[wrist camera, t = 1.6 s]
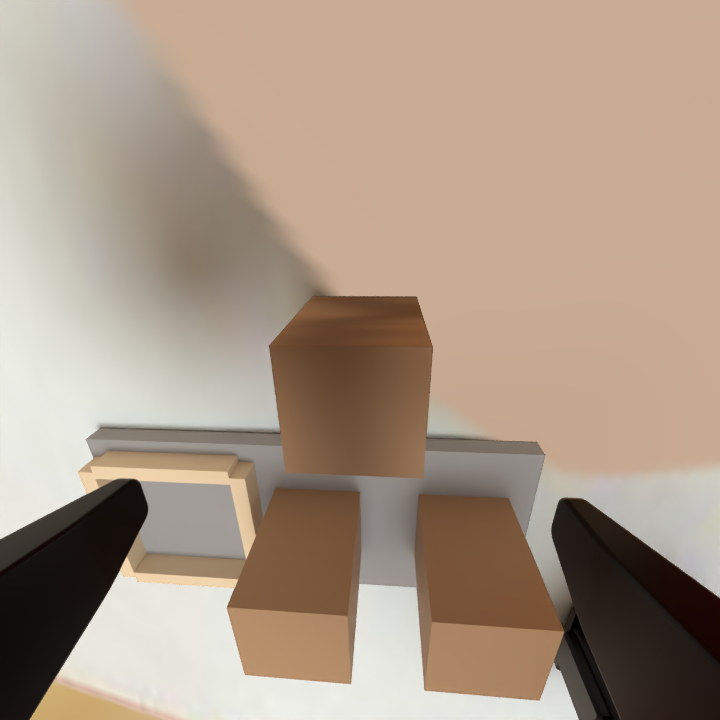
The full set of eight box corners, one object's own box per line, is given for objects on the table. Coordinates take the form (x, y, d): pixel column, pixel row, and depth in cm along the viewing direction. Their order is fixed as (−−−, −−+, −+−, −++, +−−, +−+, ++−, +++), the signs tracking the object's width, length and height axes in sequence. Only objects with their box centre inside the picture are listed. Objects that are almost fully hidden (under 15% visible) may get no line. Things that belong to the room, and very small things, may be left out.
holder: (536, 441, 17) (626, 580, 11) (506, 576, 21) (557, 737, 15) (100, 427, 19) (-48, 540, 12) (148, 554, 23) (54, 689, 16)
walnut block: (416, 296, 15) (433, 347, 9) (411, 389, 17) (423, 478, 11) (312, 296, 15) (269, 345, 10) (319, 387, 17) (285, 472, 11)
